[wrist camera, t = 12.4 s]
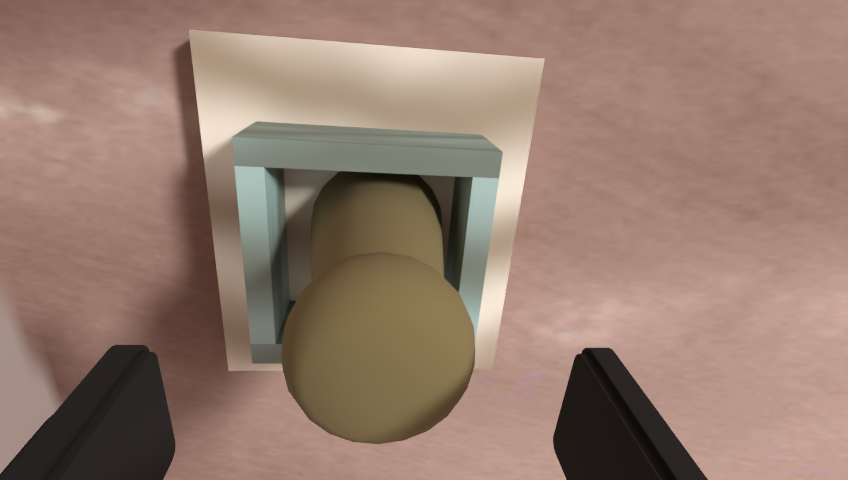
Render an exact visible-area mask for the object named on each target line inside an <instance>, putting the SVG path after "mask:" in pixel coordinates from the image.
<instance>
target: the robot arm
mask: <svg viewBox="0 0 848 480" xmlns="http://www.w3.org/2000/svg"><path fill="white" fill-rule="evenodd" d="M553 444H554V450H555V453H556V455H557V458H558V460H559V462H560V465H561V467H562V470H563V472H564V474H565V477H566V479H567V480H708V479H707V478H706V477H705V475H704V474H703V473H702V471H701V470H700V468H699V467H698V466H697V464H696V463H695V462H694V460H693V459H692V457H691V456H690V455H689V453H688V452H687V451H686V449H685V448H684V447H683V445H682V444H681V442H680V441H679V440H678V438H677V437H676V436H675V434H674V433H673V432H672V430H671V429H670V427H669V426H668V425H667V423H666V422H665V421H664V419H663V418H662V417H661V415H660V414H659V412H658V411H657V410H656V408H655V407H654V406H653V404H652V403H651V402H650V400H649V399H648V397H647V396H646V395H645V393H644V392H643V391H642V389H641V388H640V386H639V385H638V384H637V382H636V381H635V380H634V378H633V377H632V376H631V374H630V373H629V371H628V370H627V369H626V367H625V366H624V365H623V363H622V362H621V361H620V359H619V358H618V356H617V355H616V354H615V352H614V351H613V350H612V349H610V348H585V349H584V350H583V351H582V353H581V354H577V355H576V357H575V359H574V363H573V366H572V370H571V374H570V377H569V381H568V385H567V388H566V392H565V396H564V399H563V403H562V407H561V410H560V414H559V418H558V421H557V425H556V429H555V432H554V437H553ZM174 453H175V439H174V434H173V429H172V424H171V420H170V415H169V410H168V405H167V401H166V396H165V391H164V387H163V382H162V377H161V372H160V368H159V363H158V358H157V355H156V354H155V353H154V352H149V350H148V348H147V347H146V346H144V345H114V346H112V347H111V348H110V349H109V350H108V351H107V352H106V353H105V354H104V356H103V357H102V358H101V359H100V360H99V361H98V363H97V364H96V365H95V366H94V367H93V368H92V370H91V371H90V372H89V373H88V374H87V376H86V377H85V378H84V379H83V380H82V381H81V383H80V384H79V385H78V386H77V387H76V388H75V390H74V391H73V392H72V393H71V394H70V395H69V397H68V398H67V399H66V400H65V401H64V403H63V404H62V405H61V406H60V407H59V408H58V410H57V411H56V412H55V413H54V414H53V415H52V416H51V417H50V418H49V419H48V420H47V421H45V423H44V424H43V425H42V426H41V427H40V429H39V430H38V431H37V432H36V433H35V434H34V435H33V437H32V438H31V439H30V440H29V441H28V442H27V444H26V445H25V446H24V447H23V448H22V449H21V451H20V452H19V453H18V454H17V455H16V457H15V458H14V459H13V460H12V461H11V462H10V463H9V465H8V466H7V467H6V468H5V469H4V470H3V472H2V473H1V474H0V480H163V479H164V476H165V474H166V472H167V470H168V468H169V466H170V464H171V462H172V459H173V457H174Z"/></svg>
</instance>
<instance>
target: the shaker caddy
mask: <svg viewBox="0 0 848 480" xmlns="http://www.w3.org/2000/svg"><path fill="white" fill-rule="evenodd" d="M189 39H190V47H191V56H192V64H193V73H194V81H195V90H196V98H197V107H198V115H199V124H200V132H201V141H202V149H203V158H204V166H205V175H206V184H207V192H208V201H209V209H210V218H211V226H212V235H213V243H214V252H215V260H216V269H217V277H218V286H219V294H220V303H221V311H222V320H223V329H224V337H225V346H226V354H227V363H228V371H283V368H282V359H281V349H282V342H283V334H284V327H285V324H286V321H287V319H288V316H289V314H290V312H291V310H292V308H293V307H294V305H295V303H296V301H297V299H298V298H299V296H300V294H301V292H302V291H303V290H304V289H305V288H306V287H307V286H308V285H309V284H310V283H311V282H312V268H311V220H312V213H313V206H314V203H315V201H316V199H317V197H318V195H319V193H320V191H321V189H322V188H323V186H324V185H325V184H326V183H327V182H328V181H329V180H330V179H332V178H333V177H334V176H335V175H336V174H337V173H338V172H340V171H352V172H373V173H394V174H415V175H420V177H421V178H422V179H423V180H424V181H425V182H426V183H427V184H428V185H429V186H430V188H431V189H432V190H433V191H434V194H435V196H436V198H437V201H438V203H439V205H440V208H441V218H442V237H443V266H444V278H445V279H446V280H447V281H448V282H449V283H450V284H451V285H452V286H453V287H454V288H455V289H456V290H457V291H458V292H459V294H460V296H461V298H462V300H463V303H464V305H465V307H466V309H467V311H468V314H469V316H470V318H471V321H472V323H473V326H474V335H475V366H474V369H493V364H494V358H495V352H496V346H497V340H498V334H499V328H500V322H501V316H502V310H503V304H504V298H505V292H506V286H507V281H508V275H509V269H510V263H511V257H512V251H513V245H514V239H515V233H516V227H517V221H518V215H519V209H520V203H521V197H522V191H523V185H524V179H525V173H526V167H527V161H528V155H529V149H530V143H531V137H532V131H533V125H534V119H535V113H536V107H537V101H538V95H539V89H540V83H541V77H542V71H543V65H544V59H540V58H528V57H516V56H504V55H492V54H479V53H467V52H455V51H443V50H431V49H419V48H407V47H394V46H382V45H370V44H358V43H346V42H334V41H322V40H310V39H297V38H285V37H273V36H261V35H249V34H237V33H225V32H213V31H200V30H189Z"/></svg>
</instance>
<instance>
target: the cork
mask: <svg viewBox="0 0 848 480" xmlns="http://www.w3.org/2000/svg"><path fill="white" fill-rule="evenodd" d="M311 268H312V282H311V283H310V284H309V285H308V286H307V287H306V288H305V289H304V290H303V291H302V292H301V294H300V296H299V298H298V299H297V301H296V303H295V305H294V307H293V308H292V310H291V312H290V314H289V316H288V319H287V321H286V324H285V327H284V334H283V342H282V349H281V359H282V368H283V372H284V375H285V379H286V383H287V387H288V391H289V392H290V393H291V395H292V396H293V398H294V399H295V400H296V402H297V403H298V404H299V406H300V407H301V409H302V410H303V411H304V413H305V414H306V415H307V417H308V418H309V420H311V421H312V422H314V423H315V424H316V425H318V426H319V427H321V428H322V429H324V430H325V431H326V432H328V433H329V434H332V435H335V436H338V437H341V438H344V439H346V440H349V441H352V442H362V443H373V444H382V443H389V442H395V441H402V440H406V439H408V438H411V437H413V436H416V435H418V434H421V433H423V432H426V431H428V430H429V429H431V428H432V427H433V426H435V425H436V424H437V423H439V422H440V421H442V420H443V419H444V418H446V417H447V416H448V414H449V413H450V412H451V411H452V409H453V408H454V407H455V405H456V404H457V403H458V401H459V400H460V399H461V397H462V396H463V394H464V392H465V391H466V389H467V387H468V384H469V381H470V378H471V375H472V372H473V369H474V366H475V335H474V326H473V323H472V321H471V318H470V316H469V314H468V311H467V309H466V307H465V305H464V303H463V300H462V298H461V296H460V294H459V292H458V291H457V290H456V289H455V288H454V287H453V286H452V285H451V284H450V283H449V282H448V281H447V280H446V279H445V278H444V266H443V237H442V218H441V208H440V205H439V203H438V201H437V198H436V196H435V194H434V191H433V190H432V189H431V188H430V186H429V185H428V184H427V183H426V182H425V181H424V180H423V179H422V178H421V177H420V175H415V174H394V173H373V172H352V171H340V172H338V173H337V174H336V175H335V176H334V177H333V178H332V179H330V180H329V181H328V182H327V183H326V184H325V185H324V186H323V188H322V189H321V191H320V193H319V195H318V197H317V199H316V201H315V203H314V206H313V213H312V220H311Z"/></svg>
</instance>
